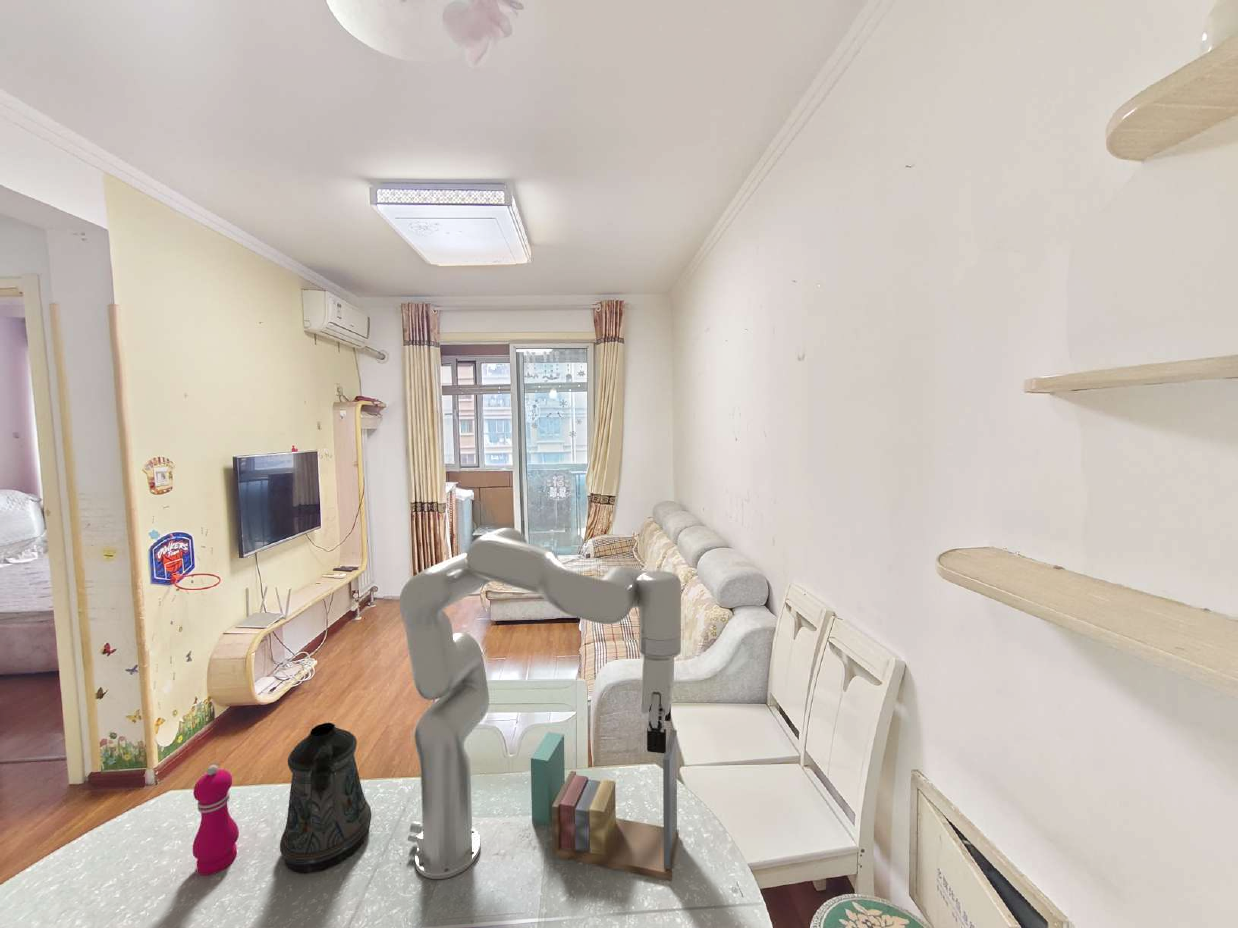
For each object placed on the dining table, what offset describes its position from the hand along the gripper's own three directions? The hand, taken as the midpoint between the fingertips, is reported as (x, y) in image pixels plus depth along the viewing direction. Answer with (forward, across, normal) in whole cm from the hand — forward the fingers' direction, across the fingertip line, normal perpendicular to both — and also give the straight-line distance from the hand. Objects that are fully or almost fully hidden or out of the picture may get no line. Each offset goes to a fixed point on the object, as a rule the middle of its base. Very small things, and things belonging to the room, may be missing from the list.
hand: (659, 734), depth 91 cm
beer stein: (+31, 0, -68) cm, 75 cm away
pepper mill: (+32, +8, -88) cm, 94 cm away
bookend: (+29, -9, +1) cm, 30 cm away
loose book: (+31, -18, -27) cm, 45 cm away
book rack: (+31, -10, -10) cm, 34 cm away
